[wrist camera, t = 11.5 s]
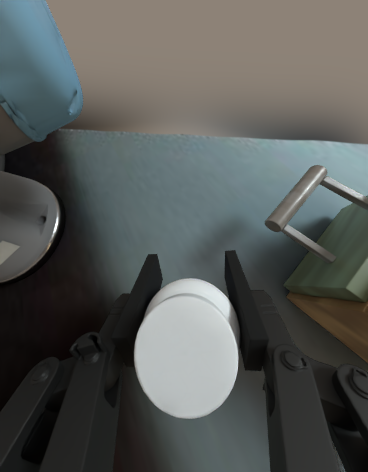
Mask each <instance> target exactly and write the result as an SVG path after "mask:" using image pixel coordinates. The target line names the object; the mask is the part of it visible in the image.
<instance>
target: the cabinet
mask: <svg viewBox="0 0 368 472" xmlns="http://www.w3.org/2000/svg"><path fill="white" fill-rule="evenodd" d="M286 298H288V299H289V300H290V301H291V302H292V303H294V304H295V305H296V306H297V307H299V308H300V309H301V310H302V311H304V312H305V313H306V314H307V315H309V316H310V317H311V318H312V319H314V320H315V321H316V322H317V323H319V324H320V325H321V326H322V327H324V328H325V329H326V330H327V331H329V332H330V333H331V334H332V335H334V336H335V337H336V338H337V339H339V340H340V341H341V342H342V343H343V344H345V345H346V346H347V347H348V348H350V349H351V350H352V351H353V352H355V353H356V354H357V355H358V356H360V357H361V358H362V359H363V360H365V361H366V362H367V363H368V301H367V302H366V303H364V302H357V301H349V300H341V299H334V298H326V297H318V296H311V295H303V294H295V293H292V292H291V291H290V293H289V294H288V295H287V297H286Z"/></svg>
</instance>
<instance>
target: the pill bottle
mask: <svg viewBox="0 0 368 472" xmlns="http://www.w3.org/2000/svg"><path fill="white" fill-rule="evenodd" d="M239 348H240V326H239V322H238V318H237V314H236V312H235V310H234V308H233V306H232V304H231V302H230V301H229V300H228V298H227V297H226V296H225V295H224V294H223V293H222V292H221V291H220V290H219V289H218V288H217V287H215V286H214V285H212V284H210V283H208V282H206V281H204V280H200V279H195V278H187V279H180V280H177V281H174V282H172V283H170V284H168V285H166V286H165V287H163V288H162V289H161V290H160V291H159V292H158V293H157V294H156V295H155V296H154V297H153V299H152V300H151V302H150V303H149V305H148V307H147V310H146V312H145V316H144V320H143V322H142V324H141V326H140V328H139V331H138V333H137V337H136V341H135V347H134V364H135V369H136V374H137V377H138V380H139V382H140V385H141V387H142V389H143V391H144V392H145V394H146V395H147V396H148V398H149V399H150V401H151V402H152V403H153V404H154V405H155V406H156V407H158V408H159V409H160V410H162V411H163V412H165V413H167V414H169V415H172V416H175V417H178V418H183V419H194V418H199V417H202V416H205V415H208V414H210V413H211V412H213V411H214V410H215V409H217V408H218V407H219V406H220V405H221V404H222V403H223V402H224V401H225V399H226V398H227V397H228V395H229V394H230V392H231V390H232V388H233V386H234V383H235V380H236V376H237V370H238V352H239Z"/></svg>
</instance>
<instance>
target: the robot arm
mask: <svg viewBox="0 0 368 472" xmlns="http://www.w3.org/2000/svg"><path fill="white" fill-rule="evenodd" d="M82 106H83V95H82V89H81V86H80V82H79V79H78V76H77V73H76V71H75V68H74V66H73V63H72V61H71V58H70V56H69V54H68V51H67V49H66V46H65V44H64V41H63V39H62V37H61V34H60V32H59V30H58V28H57V25H56V23H55V21H54V19H53V16H52V14H51V12H50V10H49V8H48V5H47V3H46V1H45V0H0V283H11V282H15V281H18V280H20V279H23V278H25V277H27V276H29V275H30V274H32V273H33V272H35V271H36V270H37V269H39V268H40V267H41V266H42V265H43V264H44V263H45V262H46V261H47V260H48V259H49V257H50V256H51V255H52V254H53V252H54V251H55V249H56V247H57V246H58V244H59V242H60V239H61V237H62V234H63V231H64V227H65V209H64V205H63V203H62V200H61V199H60V197H59V196H58V195H57V194H56V193H55V192H54V191H52V190H51V189H49V188H48V187H46V186H44V185H43V184H41V183H38V182H36V181H34V180H31V179H27V178H24V177H20V176H17V175H13V174H10V173H6V172H4V168H5V154H6V153H8V152H10V151H12V150H15V149H17V148H19V147H22V146H24V145H26V144H29V143H31V142H33V141H38V142H40V141H43V140H44V139H45V138H46V137H47V134H49V133H51V132H52V131H54V130H56V129H58V128H60V127H62V126H64V125H66V124H68V123H70V122H72V121H73V120H75V119H76V118H77V117H78V116H79V114H80V113H81V110H82ZM162 280H163V278H162V274H161V269H160V265H159V260H158V256H157V254H149V255H148V256H147V258H146V260H145V263H144V265H143V267H142V269H141V271H140V274H139V276H138V278H137V280H136V282H135V285H134V287H133V289H132V291H131V293H130V294H122V295H121V296H120V297H119V298H118V299H117V300H116V302H115V303H114V305H113V307H112V309H111V311H110V313H109V315H108V317H107V319H106V320H105V322H104V324H103V326H102V328H101V330H100V332H99V333H96V332H88V333H86V334H84V335H82V336H81V337H79V338H78V339H77V340H76V341H75V342H74V343H73V344H72V346H71V348H70V350H69V352H70V353H71V354H72V355H73V356H74V357H71V358H68V359H65V360H62V361H59V360H58V359H57V358H55V357H50V358H46V359H44V360H42V361H41V362H39V363H38V364H37V365H36V366H34V367H33V368H32V370H31V371H30V372H29V373H28V374H27V376H26V377H25V378H24V380H23V381H22V383H21V384H20V385H19V387H18V388H17V389H16V391H15V392H14V394H13V395H12V396H11V398H10V399H9V401H8V402H7V403H6V405H5V406H4V407H3V409H2V410H1V412H0V472H112V469H113V460H114V451H115V441H116V432H117V423H118V414H119V404H120V395H121V386H122V371H121V369H122V366H123V363H125V364H126V366H127V367H135V364H134V347H135V341H136V337H137V333H138V331H139V328H140V326H141V324H142V322H143V320H144V316H145V312H146V310H147V307H148V305H149V303H150V302H151V300H152V299H153V297H154V296H155V295H156V294H157V293H158V292H159V291H160V288H161V284H162ZM225 281H226V286H227V290H228V295H229V300H230V302H231V304H232V306H233V308H234V310H235V312H236V314H237V318H238V322H239V326H240V349H241V354H242V358H243V363H244V368H245V370H251V371H261V369H262V366H263V370H264V373H265V376H266V377H265V381H264V384H263V390H265V393H266V409H267V424H268V440H269V456H270V471H271V472H340V469H339V466H338V462H337V459H336V455H335V451H334V448H333V444H332V441H333V443H334V445H335V448H336V450H337V452H338V454H339V457H340V459H341V461H342V463H343V466H344V468H345V470H346V472H368V373H367V372H366V371H365V370H363V369H361V368H359V367H357V366H354V365H350V364H343V365H340V366H339V367H338V368H336V367H333V366H330V365H327V364H324V363H321V362H318V361H315V360H313V359H311V358H309V357H308V356H306V355H304V354H303V353H302V352H301V351H300V350H299V349H298V348H297V347H296V346H295V344H294V343H293V341H292V339H291V337H290V335H289V333H288V331H287V329H286V327H285V325H284V323H283V321H282V319H281V317H280V315H279V314H278V311H277V309H276V307H275V306H274V303H273V301H272V299H271V297H270V296H269V295H268V294H267V293H266V292H265V291H264V290H250V288H249V285H248V283H247V280H246V277H245V275H244V272H243V270H242V267H241V264H240V262H239V259H238V257H237V254H236V251H235V250H231V251H225ZM330 436H331V437H330ZM331 439H332V440H331Z"/></svg>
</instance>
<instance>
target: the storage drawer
mask: <svg viewBox="0 0 368 472" xmlns="http://www.w3.org/2000/svg"><path fill="white" fill-rule="evenodd" d="M326 175H327V169H326V168H325V167H323V166H320V165H315V166H312V167H310V168H309V170H308V171H307V172H306V173H305V174H304V176H303V177H302V178H301V179H300V180H299V182H298V183H297V184H296V185H295V186H294V187H293V189H292V190H291V191H290V192H289V193H288V195H287V196H286V197H285V198H284V199H283V201H282V202H281V203H280V204H279V205H278V206H277V208H276V209H275V210H274V211H273V212H272V214H271V215H270V216H269V217H268V218H267V220H266V221H265V225H266V226H267V227H268V228H269V229H270V230H272V231H275V232H280V231H281V232H283V233H284V234H286V235H287V236H288V237H290V238H291V239H293V240H294V241H296V242H297V243H299V244H300V245H302V246H303V247H305V248H306V249H307V250H309V252H308V254H307V255H306V256H305V257H304V259H303V260H302V261H301V263H300V264H299V265H298V267H297V268H296V269H295V271H294V272H293V273H292V274H291V276H290V277H289V278H288V280H287V281H286V282H285V284H284V285H283V286H285V287H286V288H287V289H288V290H290V291H291V292H292V293H295V294H303V295H311V296H318V297H326V298H334V299H341V300H349V301H357V302H364V303H366V302H367V301H368V196H366V197H365V196H364V195H362V194H360V193H358V192H356V191H354V190H352V189H350V188H349V187H347V186H345V185H343V184H341V183H339V182H337V181H335V180H334V179H332V178H330V177H328V176H326ZM325 176H326V177H325ZM319 184H320V185H322V186H324V187H326V188H327V189H329V190H331V191H333V192H335V193H336V194H338V195H340V196H342V197H344V198H345V199H347V200H349V201H351V202H353V203H352V204H350V205H349V206H347V207H345V208H343V209H341V211H340V212H339V213H338V214H337V216H336V217H335V218H334V220H333V221H332V222H331V224H330V225H329V226H328V227H327V229H326V230H325V231H324V233H323V234H322V235H321V237H320V238H319V239H318V241H317V242H316V243H315V242H313V241H312V240H310V239H309V238H307V237H306V236H304V235H303V234H301V233H300V232H298V231H297V230H295V229H294V228H292V227H291V226H289V225H288V224H287V223H288V222H289V221H290V219H291V218H292V217H293V216H294V214H295V213H296V212H297V211H298V210H299V208H300V207H301V206H302V205H303V203H304V202H305V201H306V200H307V199H308V197H309V196H310V195H311V194H312V192H313V191H314V190H315V189H316V187H317V186H318V185H319ZM286 224H287V225H286Z"/></svg>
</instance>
